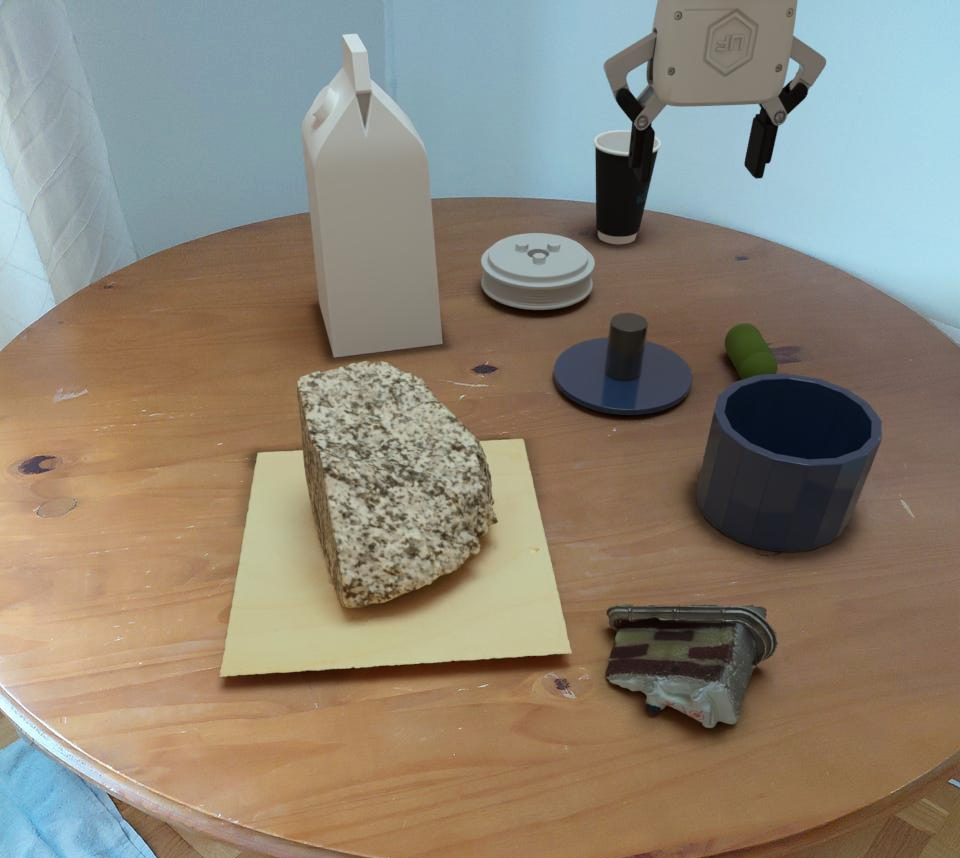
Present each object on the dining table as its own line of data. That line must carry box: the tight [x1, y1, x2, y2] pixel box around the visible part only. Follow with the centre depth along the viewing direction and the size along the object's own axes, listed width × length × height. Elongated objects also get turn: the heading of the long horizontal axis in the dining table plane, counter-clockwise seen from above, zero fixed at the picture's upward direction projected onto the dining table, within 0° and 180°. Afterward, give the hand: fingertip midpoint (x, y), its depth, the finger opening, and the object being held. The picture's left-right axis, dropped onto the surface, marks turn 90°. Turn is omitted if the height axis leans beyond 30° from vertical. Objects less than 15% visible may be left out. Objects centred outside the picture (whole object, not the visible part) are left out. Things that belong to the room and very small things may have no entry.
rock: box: [219, 360, 573, 678], centre depth 70 cm, size 28×22×16 cm
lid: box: [480, 232, 596, 311], centre depth 100 cm, size 13×13×5 cm
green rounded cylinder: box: [724, 322, 778, 380], centre depth 88 cm, size 9×4×4 cm, turn 5°
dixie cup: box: [592, 129, 662, 245], centre depth 108 cm, size 8×8×11 cm
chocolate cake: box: [604, 603, 779, 729], centre depth 60 cm, size 10×7×12 cm
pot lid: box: [553, 312, 693, 416], centre depth 86 cm, size 14×14×6 cm
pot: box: [695, 373, 883, 553], centre depth 72 cm, size 13×13×8 cm
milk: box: [301, 33, 444, 359], centre depth 87 cm, size 12×12×26 cm
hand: (696, 174), depth 75 cm, fingers open, 9 cm apart
